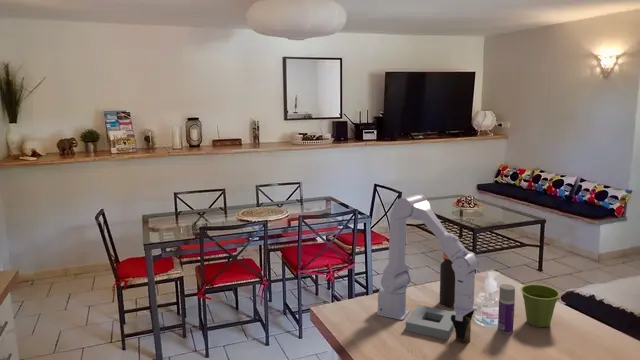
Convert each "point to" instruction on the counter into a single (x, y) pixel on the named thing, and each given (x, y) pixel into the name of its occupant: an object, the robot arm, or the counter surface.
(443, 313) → the socket block
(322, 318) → the counter surface
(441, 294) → the bottle
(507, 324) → the container
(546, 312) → the plant pot
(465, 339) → the peg
